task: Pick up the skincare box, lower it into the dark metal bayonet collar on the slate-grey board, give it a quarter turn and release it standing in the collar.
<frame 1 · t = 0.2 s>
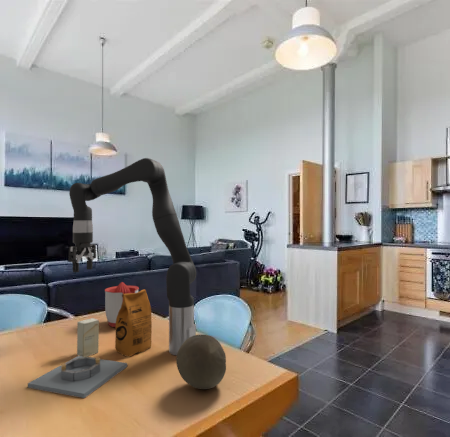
hand: (83, 270, 131), 28 cm above the table, fingers open, 8 cm apart
dark grey round ball: (201, 389, 92), on the table
collar: (80, 367, 99), on the board, point 3 cm above the table
skincare box: (87, 354, 116), on the table
citrus juicer: (122, 325, 150), on the table
coffee package: (133, 350, 120), on the table
board: (80, 376, 99), on the table
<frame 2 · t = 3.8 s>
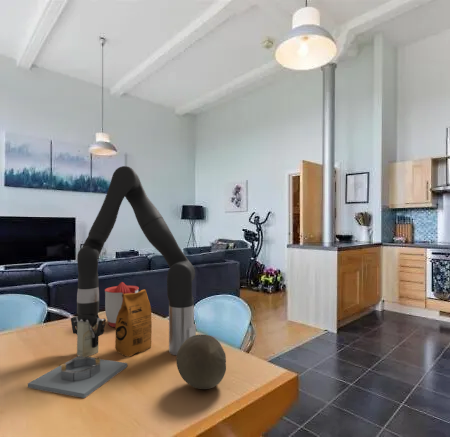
hand: (87, 345, 116), 3 cm above the table, fingers closed on skincare box, 5 cm apart
skincare box: (87, 354, 116), on the table, touching gripper
everything else where it was.
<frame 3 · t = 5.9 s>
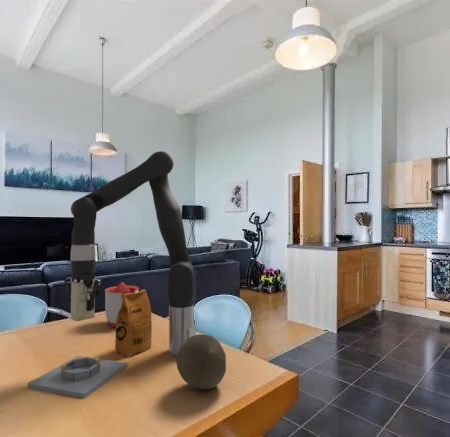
hand: (82, 309, 104), 19 cm above the table, fingers closed on skincare box, 5 cm apart
skincare box: (82, 319, 104), point 16 cm above the table, touching gripper
everything else where it was.
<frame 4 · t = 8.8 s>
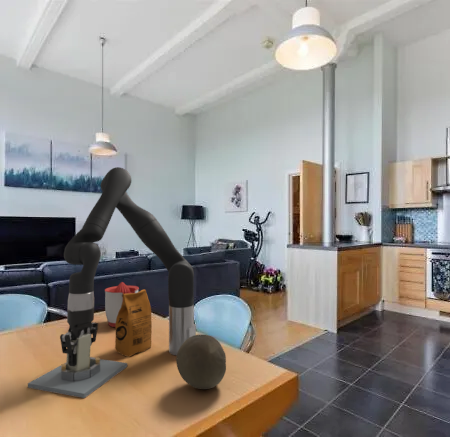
hand: (79, 361, 98), 5 cm above the table, fingers closed on skincare box, 5 cm apart
skincare box: (76, 373, 98), point 1 cm above the table, touching gripper
everything else where it was.
when the fingers open (5 cm above the table, at t = 9.9 s): skincare box stays where it is, resting on board.
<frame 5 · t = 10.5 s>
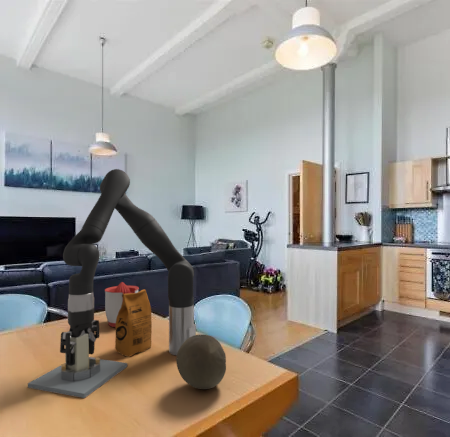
hand: (80, 359, 99), 5 cm above the table, fingers open, 8 cm apart
skincare box: (76, 374, 98), point 1 cm above the table, touching board
everything else where it was.
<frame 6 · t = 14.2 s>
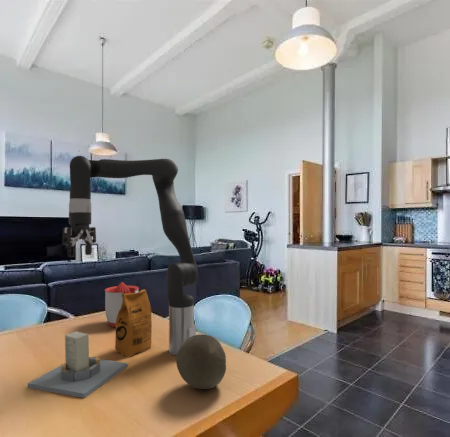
hand: (80, 255, 116), 36 cm above the table, fingers open, 8 cm apart
nothing on the table moved.
at the end: skincare box 1.2 cm from the collar (horizontally); skincare box point 1.0 cm above the table; skincare box tilted 0° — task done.
